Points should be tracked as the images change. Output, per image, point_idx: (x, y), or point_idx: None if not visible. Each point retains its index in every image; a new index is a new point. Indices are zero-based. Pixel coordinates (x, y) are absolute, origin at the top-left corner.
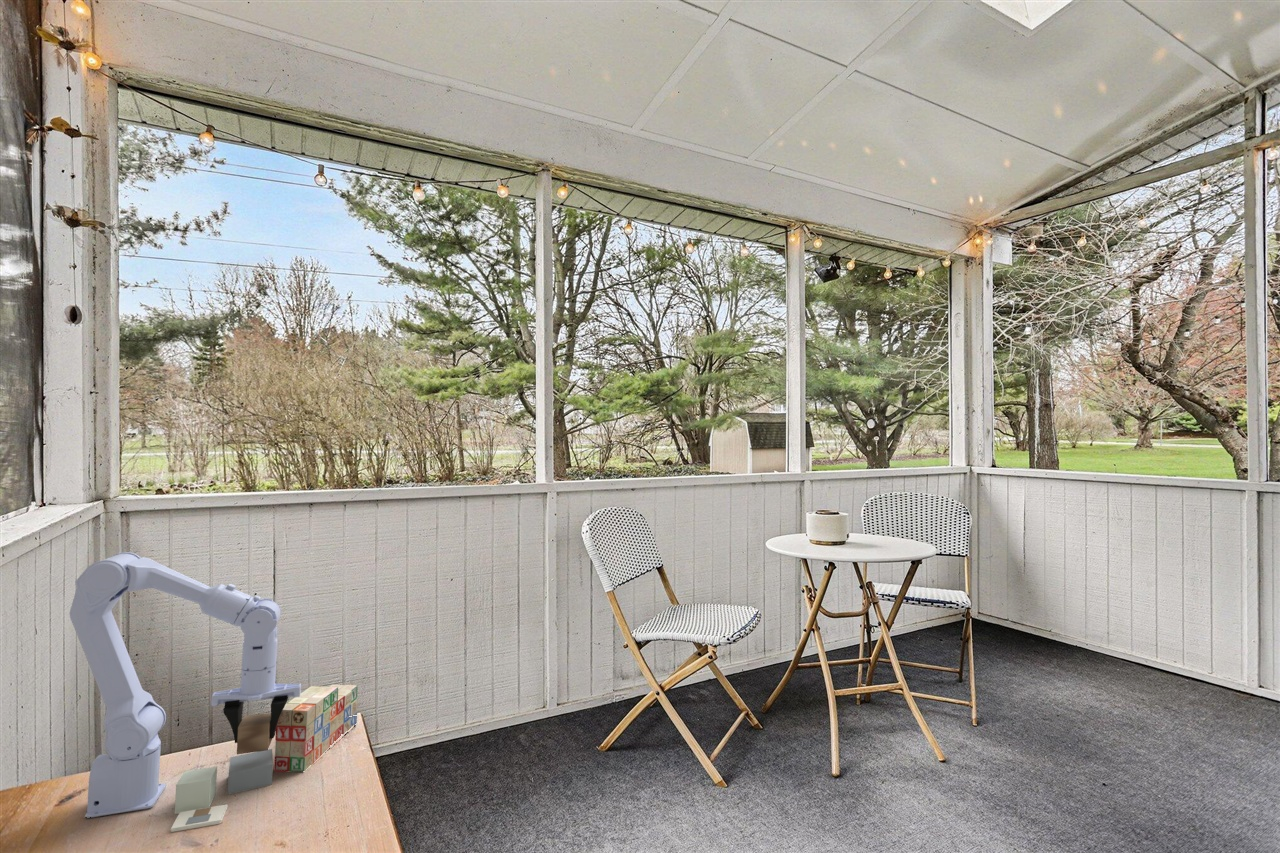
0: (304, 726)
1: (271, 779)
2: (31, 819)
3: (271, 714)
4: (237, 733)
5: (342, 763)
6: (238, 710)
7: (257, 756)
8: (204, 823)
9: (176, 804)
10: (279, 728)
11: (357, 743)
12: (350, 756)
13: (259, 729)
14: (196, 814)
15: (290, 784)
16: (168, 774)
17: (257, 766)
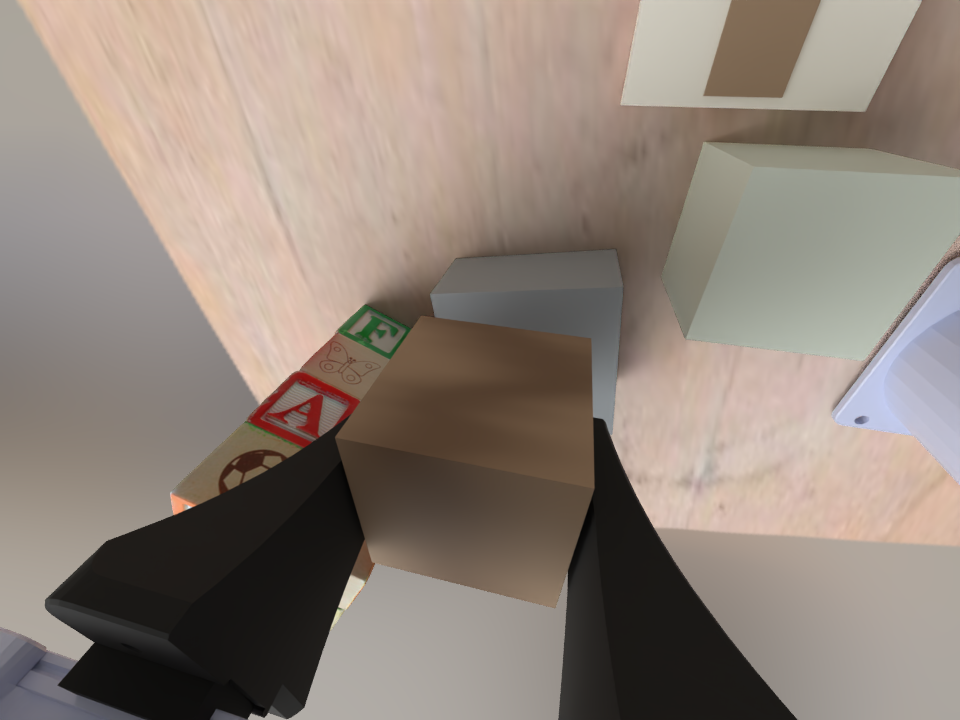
0: (255, 423)
1: (452, 266)
2: None
3: (288, 512)
4: (594, 461)
5: (259, 309)
6: (603, 705)
7: None
8: None
9: (892, 156)
10: None
11: None
12: (253, 343)
13: (423, 416)
14: (793, 25)
15: (387, 228)
16: (796, 481)
17: (494, 303)
